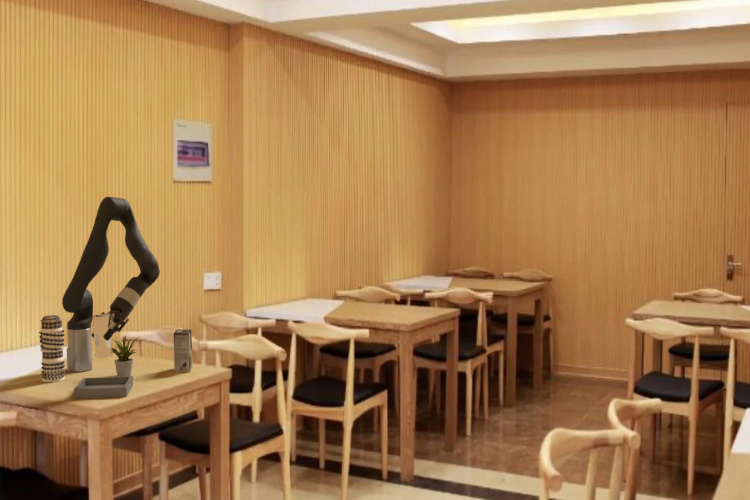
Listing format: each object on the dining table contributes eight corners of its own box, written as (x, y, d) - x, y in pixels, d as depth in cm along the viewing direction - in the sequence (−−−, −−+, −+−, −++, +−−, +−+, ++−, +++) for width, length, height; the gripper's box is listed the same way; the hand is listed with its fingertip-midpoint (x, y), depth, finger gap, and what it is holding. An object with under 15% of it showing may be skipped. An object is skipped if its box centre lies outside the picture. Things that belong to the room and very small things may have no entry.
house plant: (134, 369, 349) (132, 330, 348) (151, 374, 339) (150, 334, 338) (101, 374, 339) (100, 334, 338) (118, 380, 329) (117, 338, 328)
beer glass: (117, 354, 312) (116, 314, 311) (105, 358, 306) (104, 317, 304) (101, 353, 314) (100, 313, 313) (89, 357, 308) (88, 316, 307)
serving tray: (74, 398, 301) (73, 389, 300) (83, 387, 318) (83, 377, 318) (126, 396, 303) (126, 387, 303) (133, 385, 321) (132, 376, 321)
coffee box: (177, 367, 352) (176, 329, 350) (192, 367, 352) (192, 329, 351) (173, 372, 342) (172, 333, 341) (190, 372, 343) (189, 332, 342)
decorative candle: (63, 381, 327) (61, 317, 325) (38, 382, 326) (36, 318, 324) (68, 376, 336) (66, 314, 334) (43, 377, 335) (41, 314, 333)
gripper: (107, 294, 319) (80, 330, 310) (131, 297, 310) (105, 334, 302) (119, 307, 323) (93, 342, 315) (143, 310, 315) (118, 346, 306)
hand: (99, 338), depth 308 cm, fingers closed on beer glass, 6 cm apart
